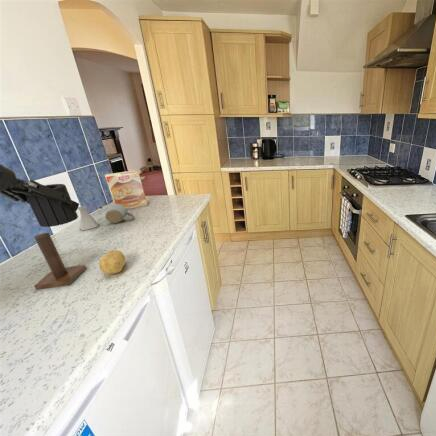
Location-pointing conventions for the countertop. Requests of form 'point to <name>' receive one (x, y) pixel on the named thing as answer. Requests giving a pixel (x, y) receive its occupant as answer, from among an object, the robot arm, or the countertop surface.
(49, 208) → the tape roll
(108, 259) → the potato
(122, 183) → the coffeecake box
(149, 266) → the countertop surface
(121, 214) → the ceramic mug
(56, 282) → the peg
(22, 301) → the countertop surface
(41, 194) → the robot arm
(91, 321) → the countertop surface
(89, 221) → the flask
